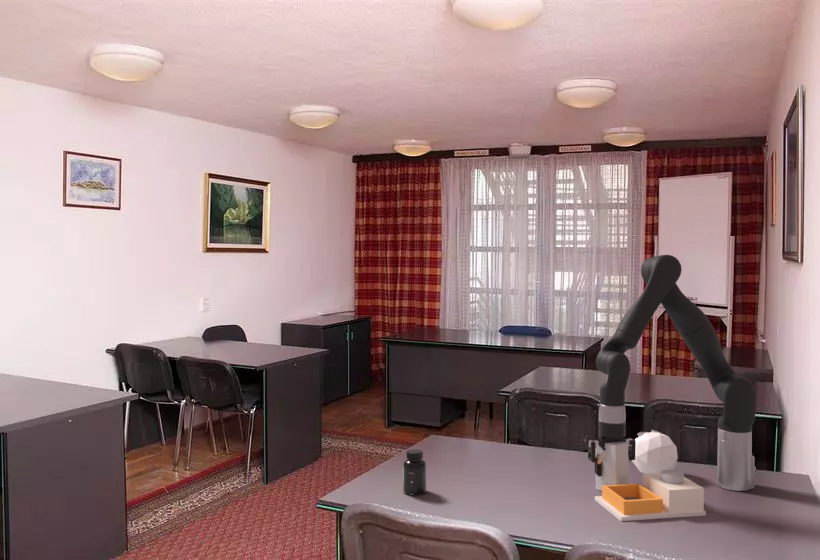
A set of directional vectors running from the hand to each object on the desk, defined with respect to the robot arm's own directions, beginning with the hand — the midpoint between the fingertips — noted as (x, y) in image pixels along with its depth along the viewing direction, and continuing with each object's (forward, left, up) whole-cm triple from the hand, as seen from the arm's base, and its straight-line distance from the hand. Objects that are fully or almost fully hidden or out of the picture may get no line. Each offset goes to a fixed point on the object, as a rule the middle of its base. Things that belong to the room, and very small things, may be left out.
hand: (611, 475), depth 202 cm
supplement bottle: (+57, -9, -5) cm, 58 cm away
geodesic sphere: (-20, -12, -5) cm, 24 cm away
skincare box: (0, 0, -5) cm, 5 cm away
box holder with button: (-4, +14, -5) cm, 15 cm away
